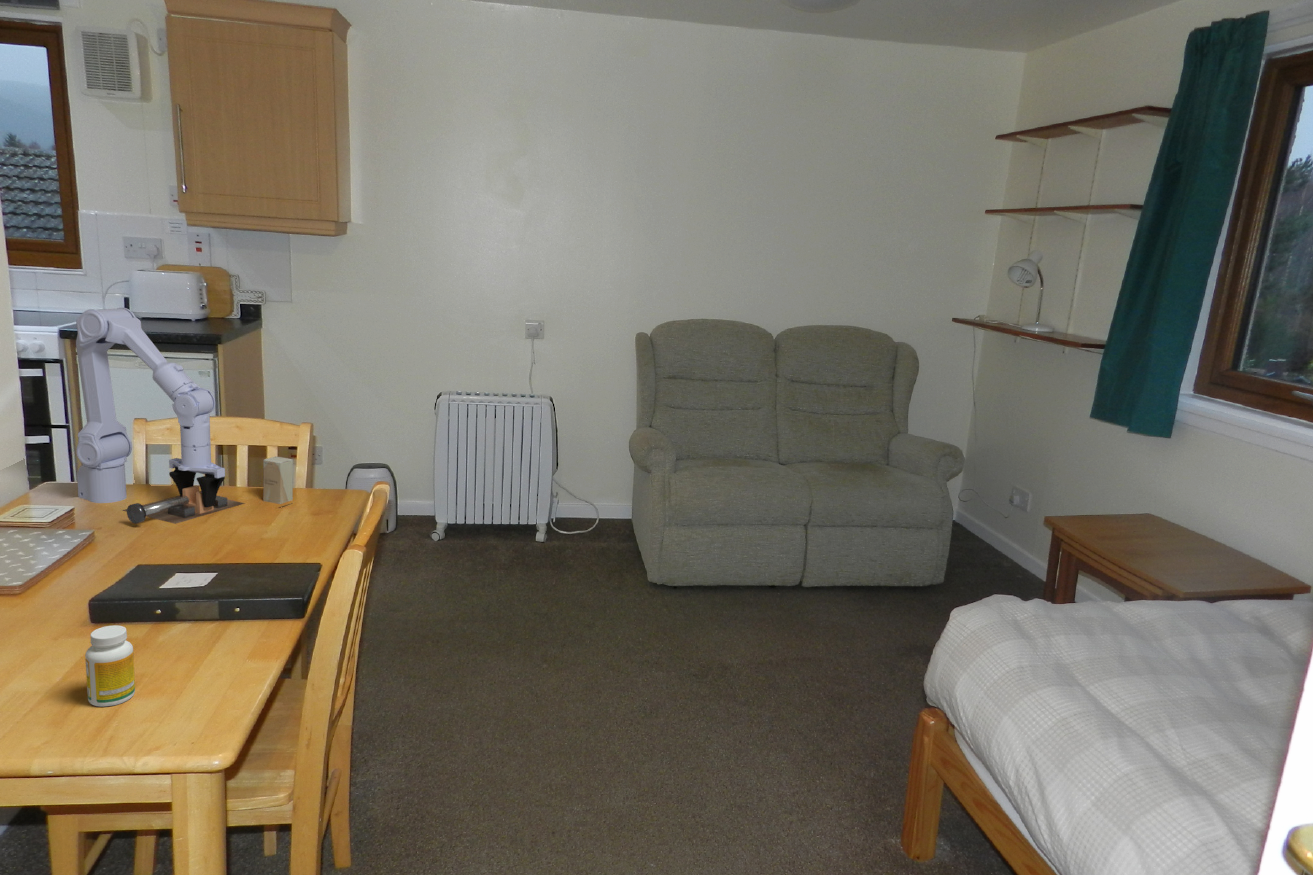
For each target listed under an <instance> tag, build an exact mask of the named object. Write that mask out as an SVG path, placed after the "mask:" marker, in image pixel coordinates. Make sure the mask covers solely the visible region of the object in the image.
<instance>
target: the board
mask: <svg viewBox="0 0 1313 875" xmlns="http://www.w3.org/2000/svg"><path fill="white" fill-rule="evenodd" d="M176 498H180V495H176V496H173V497H168V498H165V499H161V500H157V501H153V502H149V503H145V504H141V505H142V506H143V507H145V506H149V505H153V504H157V503H160V502H164V501H168V500H172V499H176ZM244 504H246V503H245V502H241V501H237V500H232V499H229V498H227V506H225V507H222V508H214V507H213V510H211V511H208V512H204V513H201V514H199V513H195V515H194V516H190V517H187V518H182V517H178V516H174V515H170V514H168V509H167V510H163V511H160V512H156V513H152V514H149V515H146V518H151V519H154V520H159V521H163V522H165V523H166V522H168V523H171V524H174V525H175V524H179V523H180V524H181V523H183V522H187V521H190V520H192V519H193V520H194V519H197V518H199V517H203V516H207V515H210V514H213V513H217V512H221V511H223V510H227V509H231V508H234V507H239V506H242V505H244ZM121 511H122V512H123V511H124V512H126V513H127V508H126V509H122V510H121Z"/></svg>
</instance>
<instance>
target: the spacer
mask: <svg viewBox="0 0 1313 875" xmlns="http://www.w3.org/2000/svg"><path fill="white" fill-rule="evenodd" d="M182 491H183V496H187V497H188V499H189V503H188V504H185V505H189V506H193V507H195V513H199V514H201V513H204V512H208V511H211V510H213V506H211V507H207V508H206V507H204V505H203V499H202V492H201V490H200V485H193V486H192V487H188V488H184V489H182Z"/></svg>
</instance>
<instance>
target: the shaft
mask: <svg viewBox="0 0 1313 875" xmlns="http://www.w3.org/2000/svg"><path fill="white" fill-rule="evenodd" d="M188 503H189V499H188V497H187V496H183V497H180V498H176V499H172V500H168V501H164V502H160V503H157V504H153V505H149V506H145V507H143V506H142V505H143V504H141V503H139V502H137V503H132V504H129V505H128V507H127V508H126V509H127V512H126V515H127V516H126V517H127V518H128V520H129V521H130V522H131V523H133V524H139V523H142V522H144V521H145V520H146V518H147V517H146V515H149V514H152V513H156V512H160V511H163V510H167V509H171V508H174V507H178V506H182V505H185V504H188Z"/></svg>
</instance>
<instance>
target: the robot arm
mask: <svg viewBox="0 0 1313 875" xmlns="http://www.w3.org/2000/svg"><path fill="white" fill-rule="evenodd" d="M75 322H76V330H77V335H76V339H75V346H76V347H75V348H76V354H77V355H76V356H77V361H78V362H77V363H78V369H79V376H80V382H81V383H80V384H81V389H82V396H83V403H84V404H83V405H84V411H85V417H86V418H85V419H86V424H85V425H84V426H83V428H81V430H80V431H79V432H78V433H77V445H76V448H75V449H76V450H75V453H76V457H77V458H78V460H79V461H80V463H81V465H80V467H79V468H78V470H77V471H76V472H77V473H76V481H77V493H78V494H77V497H78V498H80V499H83V500H86V501H88V502H90V503H94V504H110V503H116V502H121V501H124V500H126V499H127V498H128V497H127V483H126V482H127V481H126V464H125V463H127V462H128V460H127V457H129V456H130V455H131V453H132V451H133V444H132V441H131V439H130V437H129V435H128V432H127V428H126V426H125V425H123V424H122V423H120V422H119V421H118V420H117V417H116V408H115V400H114V394H113V392H114V391H113V384H112V379H111V377H112V376H111V371H110V364H109V363H110V362H109V356H108V351H109V350H110V349H111V348H112V347H113V346H114V345H115V344H119V345H125V346H126V347H127V348H128V349H129V350H131V351H132V353H134V354H135V355H136V356H137V357H138V358H139V359H140V360H141V361H142V362H143V363H144V364H145V365H146V366H147V367H148V368H149V369H151V371H152V380H153V381H154V382H155V383H156V384H157V385H158V387H159V388H160V389H161V390H162V391H163V392H164V393H165V394H166V395H167V397H168V398H169V399H170V400H171V401H172V402H173V403H172V404H171V406H172V409H173V412H174V413H175V415H176V416H177V423H178V424H179V427H180V428H179V429H180V431H179V432H180V454H181V456H180V457H181V458H178V457H176V458H170V459H168V467H169V469H173V471H169V472H168V473H169V474H168V475H169V477H170V478H171V480H172V481H173V483H174V484H175V486H176V489H177V491H178V493H179V496H180V497H183V491H182V489H184V488H188V487H192V486H195V485H194V484H195V478H196V482H197V483H198V486H199V489H200V491H201V492H202V499H203V505H204V507H206V508H207V507H211V506H214V503H215V499H216V496H218V492H219V490H220V487H221V485H222V483H223V482H224V481H225V479H226V478H225V477H226V469H225V467H221V466H219V465H217V464H215V463H214V462H212V450H211V448H212V447H211V445H212V444H211V442H212V441H211V423H210V422H211V418H210V417H211V416H210V414H211V413H212V412H213V411H214V409H215V407H216V400H215V397H214V395H213V394H212V392H211V390H210V389H208V388H204V387H202V386H201V387H200V386H199V384H197V383H196V382H194V381H193V380H192V379H191V378H190V377H189V376H188V374H187V373H186V372H185V371H184V367H183V366H182V365H181V364H178V363H176V362H169V361H168V360H167V359H166V358H165V356H164V355H163V354H162V353H161V351H160V350H159V349H158V347H157V346H156V345H155V344H154V343H153V341H152V340H151V339H150V338H149V336H148V335H147V334H146V332H145V331H144V330H143V329H142V321H141V320H140V319H139V318H138V317H136V315H135V313H134V312H133V311H132V310H131V309H128V308H126V307H117V308H105V309H104V308H103V309H91V308H90V309H87V310H85V311H83V312H82V313H81V314H80V315H79V316H78V317H77V318H76V319H75ZM197 474H201V475H203V476H199V477H196V475H197Z"/></svg>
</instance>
